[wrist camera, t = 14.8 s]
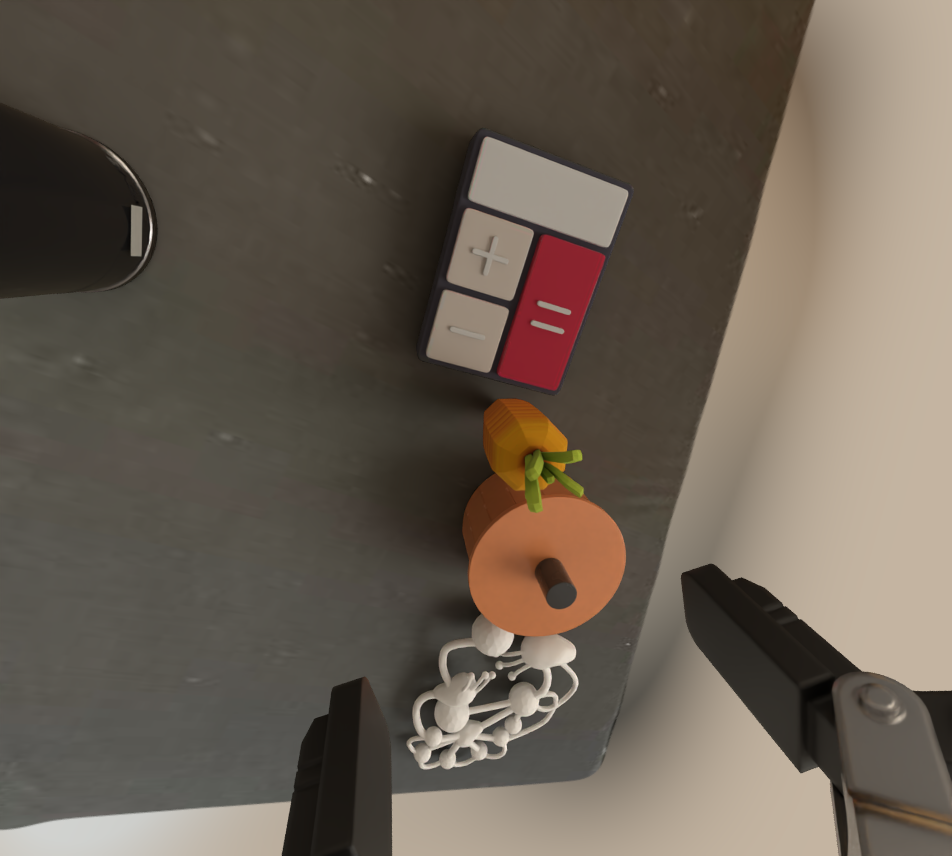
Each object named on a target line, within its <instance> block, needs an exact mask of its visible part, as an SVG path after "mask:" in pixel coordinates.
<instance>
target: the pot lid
mask: <svg viewBox="0 0 952 856" xmlns="http://www.w3.org/2000/svg"><path fill="white" fill-rule="evenodd" d="M541 500H542V507H543V511H541V512H538V513H534V512H530V510H529V509H528V505H527V500H524V501H522V502H519V503H517V504H515V505H513V506H511V507H510V508H508V509H507V510H505V511H504V512H502V513H501V514H500V515H498V516H497V517H496V518H495V519H494V520H493V521H492V522H491V523H490V524H489V525H488V526H487V527H486V528H485V529H484V531H483V532H482V534H481V535H480V536H479V538H478V540H477V542H476V543H475V545H474V548H473V550H472V553H471V556H470V560H469V565H468V583H469V587H470V592H471V595H472V598H473V600H474V603H475V604H476V606H477V608H478V609H479V611H480V612H481V613H482V614H483V616H484V617H485V618H487V619H488V620H489V621H490V622H491V623H492V624H494V625H496V626H497V627H499V628H501V629H503V630H505V631H507V632H510V633H513V634H517V635H522V636H533V637H537V636H549V635H555V634H558V633H562V632H565V631H568V630H570V629H573V628H575V627H577V626H579V625H581V624H583V623H584V622H586V621H588V620H589V619H591V618H592V617H593V616H594V615H596V614H597V613H598V612H599V611H600V610H601V609H602V608H603V607H604V606H605V605H606V604H607V603H608V602H609V600H610V599H611V598H612V596H613V595H614V593H615V592H616V590H617V588H618V586H619V584H620V582H621V579H622V576H623V573H624V568H625V560H626V552H625V544H624V540H623V537H622V535H621V532H620V530H619V528H618V527H617V525H616V523H615V522H614V521H613V519H612V518H611V517H610V516H609V515H608V514H607V513H606V512H605V511H604V510H603V509H602V508H600V507H599V506H597V505H596V504H594V503H592V502H590V501H588V500H586V499H583V498H579V497H576V496H571V495H564V494H551V495H542V496H541Z"/></svg>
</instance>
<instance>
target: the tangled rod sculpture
mask: <svg viewBox="0 0 952 856" xmlns="http://www.w3.org/2000/svg"><path fill="white" fill-rule="evenodd" d="M513 639H514V634H513V633H510V632H507V631H505V630H503V629H501V628H499V627H497V626H496V625H494V624H492V623H491V622H490V621H489V620H488V619H487V618H485V617H484V616H483V614H480V615H479V616H478V617H477V618H476V620H475V622H474V623H473V626H472V638H464V639H456V640H453V641H451V642H448V643H446V644H445V645H444V646H443V647H442V649H441V651H440V655H439V669H440V673H441V676H442V678H443V680H444V683H441V684H439V685H437V686H436V687H435V688H434V690H430V691H427V692H425V693H423V694H421V695H420V696H419V697H418V698H417V699H416V700H415V703H414V705H413V711H412V716H413V724H414V726H415V729H416V731H417V733H418V734H419V735H418V736H414V737H411V738H410V739H409V740H408V741H407V746H408V748H409V750H410V751H411V752H412V753H414V757H415V759H416V761H417V762H418V763H419V766H420V767H421V768H422V769H431V768H434V767H437V766H439V765H441V766H442V767H443V768H445V769H450V768H452V767H453V766H454V767H462V766H465V765H468V764H470V763H472V762H473V761H475V760H482V759H484V758H488V759H498V758H500V757H502V756H504V755H505V753H506V751H507V745H506V744H507V743H508V741H510V740H513V739H515V738H518V737H520V736H523V735H525V734H527V733H530V732H532V731H534V730H536V729H538V728H539V727H541V726H542V725H544V724H545V723H547V722H548V721H549V719H550V718H551V716H552V715H553V713H554V711H555V709H556V708H557V707H559V706H560V705H562V704H563V703H564V702H566V701H567V700H568V699H569V698H570V697H571V696H572V695H573V694H574V692H575V691H576V689H577V686H578V678H577V676H576V674H575V673H574V672H573V671H572V669H571V668H570V667H569V666H568V665H567V664H566V663H569V662H570V661H572V660H573V659H574V658H575V656H576V649H575V646H574V645H573V644H572V643H571V642H570V641H568V640H567V639H565V638H563V637H561V636H559V635H557V634H555V635H549V636H537V637H533V636H525V638H524V639H523V641H522V644H521V650H520V651H514V652H506V651H507V650H508V649H509V648H510V646H511V644H512V642H513ZM469 646H476V648H477V649H478V650H479V651H480V652H481V653H483V654H485V655H488V656H494V657H498V656H499V655H500V656H504V657H505V656H517V655H521V656H522V658H521V659H519V660H516V661H513V662H509V663H503V662H502V661H497V662H496V664H495V666H496V668H497V669H499V670H501V669H502V668H503V667H510V666H514V665H518V664H520V663H522V662H525V663H526V665H524V666H522V667H521V668H519V669H518V670H516V671H515V672H512V671H511V672H509V673H508V678H509V679H510V680H511V681H513V680H515V679H516V676H517V675H518V674H519V673H521V672H522V671H524V670H526V669H528V668H530V667H533V668H536V669H541V670H542V671H543V674H544V682H543V684H542V686H541V688H540V689H538V690H536V689H535V687H534V686H533V685H532V684H530V683H528V682H519V683H517V684H515V685H514V686H513V687H512V688H511V690H510V693H509V698H508V700H503V701H499V702H494V703H489V704H484V705H479V706H474V707H469V705H468V704H469V703H470V702H472V701H473V699H474V697H475V696H476V693H478V692H479V691H480V690H481V689H482V688H483V687H484V686H485V685H486V684H487V683H488V682H489V680H490V679H494V678H495V677H496V674H495V672H493V671H491V672H490V673H488V672H487V671H484V672H483V673H482V676H481V677H480V679H479V680H478V681H477V682H476V681H475V675H474V673H472V672H470V673H469V674H468V673H465V672H462V673H459V674H457V675H455V676H453V677H452V678H451V677H450V675H449V673H448V669H447V665H446V664H447V655H448V652H449V651H451V650H453V649H456V648H461V647H469ZM559 665H560V666H561V667H563V668H564V669H565V670H566V671H567V672H568V673H569V674H570V676H571V677H572V679H573V681H574V682H573V686H572V688H571V689H570V690H569V692H568V693H567V694H566V695H565V696H564V697H562V698H561V699H560V700H559V701H558V696H557V695H556V693H555V692H552V691H548V690H549V688H550V685H551V678H552V677H551V670H550V667H554V666H559ZM483 679H485V681H484V682H483V683H482V685H481V686H479V685H480V683H481V682H482V681H483ZM478 686H479V687H478ZM477 687H478V688H477ZM543 697H553V698H554V701H553V704H552V705H550V706H539V699H540V698H543ZM434 698H436V699H437V700H438V702H437V703H436V706H435V712H434V716H435V720H436V723H437V725H438V726H439V727H440V728H441V729H442V730H444V731H446V732H448V733H452V734H447V735H442V732H441V730H440V729H439V728H438V727H436V726H432V727H429V728H428V729H427V730H425V729H424V727H423V726H422V723H421V718H420V708H421V705H422V704H423V703H424V702H425V701H427V700H429V699H434ZM509 706H510V707H509ZM504 707H508V708H506V709H504V710H503V711H501V712H499V713H497V714H495V715H494V716H492V717H490V718H488V719H487V720H485V721H483V722H480V721H476V720H468V719H469V715H470V714H475V713H480V712H485V711H490V710H494V709H499V708H504ZM536 710H538V711H542V712H548V711H549V712H548V713H547V715H546V716H545V718H544V719H542V720H541V721H540V722H538V723H536V724H534V725H532V726H530V727H528V728H526V729H523V730H521V727H522V722H521V720H520V718H521V716H524V717H526V716H530V715H532V714H533V713H534V712H535V711H536ZM513 712H514V713H515V715H514V714H512V715H509V714H511V713H513ZM508 715H509V716H508ZM506 716H508V717H507V718H506V720H505V728H504V727H497V728H495V730H494V731H493V733H492V734H484V733H481V732H482V731H483V729H484V728H486V727H488V726H490V725H492V724H493V723H495V722H497V721H499V720H500V719H502V718H504V717H506ZM520 730H521V731H520ZM509 733H510V734H511V735H509ZM419 740H425V742H426V743H419V744H418V745H417V746H416V747H415V748H414V747H413V746H412V744H411V743H412V742H414V741H419ZM474 740H484V741H493V742H494V743H495V744H496V745H497V746H500V747H501V746H502V747H503V749H502V751H501V752H500V753H498V754H487V746H486V744H485V743H484V742H483V741H475V742H474ZM453 742H454V744H453V745H452V746H451V748H450V749H445V750H443V751H442V752H441V754H440V756H439V761H437V762H434V763H430V764H423V763H425V762H427V761H428V760H429V758H430V757H431V751H432V750H435V749H438V748H440V747H443V746H446V745H448V744H451V743H453ZM459 747H471V754H472V757H471V758H469V759H468V760H465V761H462V762H455V761H456V755H455V753H456V751H457V750H458V749H459Z"/></svg>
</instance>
